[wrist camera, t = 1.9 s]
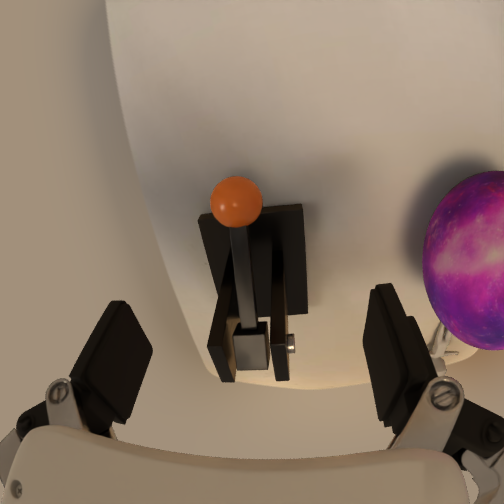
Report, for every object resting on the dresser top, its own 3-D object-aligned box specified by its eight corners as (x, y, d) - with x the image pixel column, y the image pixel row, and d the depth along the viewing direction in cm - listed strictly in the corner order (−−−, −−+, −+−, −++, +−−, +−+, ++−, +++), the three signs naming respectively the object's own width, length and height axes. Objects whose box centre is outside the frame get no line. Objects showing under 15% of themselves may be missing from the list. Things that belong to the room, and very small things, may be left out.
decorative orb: (393, 288, 29) (438, 407, 16) (398, 151, 21) (514, 242, 8) (492, 267, 26) (551, 354, 14) (512, 150, 19) (613, 217, 6)
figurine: (477, 328, 28) (449, 396, 31) (462, 310, 33) (439, 375, 36) (428, 329, 29) (403, 399, 33) (417, 310, 35) (397, 377, 38)
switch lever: (215, 182, 20) (201, 177, 17) (261, 176, 20) (256, 169, 16) (235, 352, 22) (227, 374, 19) (278, 351, 21) (276, 373, 18)
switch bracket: (200, 214, 26) (157, 304, 16) (301, 203, 24) (319, 294, 15) (226, 311, 32) (209, 404, 22) (307, 306, 31) (315, 401, 21)
